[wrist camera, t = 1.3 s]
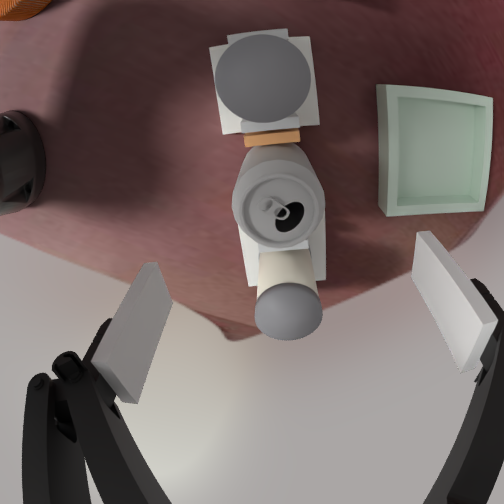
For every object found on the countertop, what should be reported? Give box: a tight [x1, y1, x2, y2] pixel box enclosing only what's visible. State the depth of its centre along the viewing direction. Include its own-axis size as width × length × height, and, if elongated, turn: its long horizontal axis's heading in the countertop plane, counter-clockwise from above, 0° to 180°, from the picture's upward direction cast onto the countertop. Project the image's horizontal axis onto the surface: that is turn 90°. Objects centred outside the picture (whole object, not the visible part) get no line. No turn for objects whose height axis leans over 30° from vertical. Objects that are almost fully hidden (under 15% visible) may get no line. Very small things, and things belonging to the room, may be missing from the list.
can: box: [232, 142, 325, 248], centre depth 28 cm, size 8×8×12 cm
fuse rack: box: [209, 29, 326, 340], centre depth 28 cm, size 10×29×12 cm, turn 8°
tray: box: [376, 84, 493, 217], centre depth 28 cm, size 14×14×3 cm
